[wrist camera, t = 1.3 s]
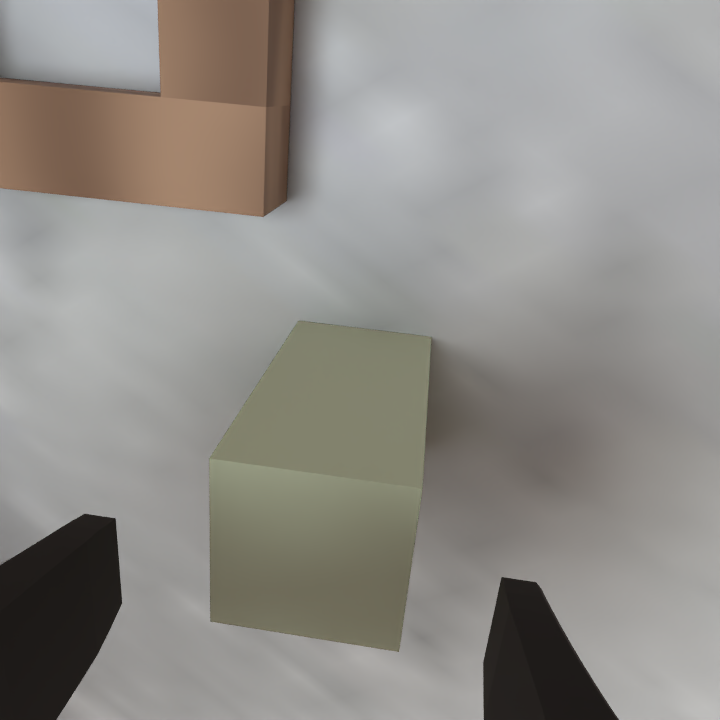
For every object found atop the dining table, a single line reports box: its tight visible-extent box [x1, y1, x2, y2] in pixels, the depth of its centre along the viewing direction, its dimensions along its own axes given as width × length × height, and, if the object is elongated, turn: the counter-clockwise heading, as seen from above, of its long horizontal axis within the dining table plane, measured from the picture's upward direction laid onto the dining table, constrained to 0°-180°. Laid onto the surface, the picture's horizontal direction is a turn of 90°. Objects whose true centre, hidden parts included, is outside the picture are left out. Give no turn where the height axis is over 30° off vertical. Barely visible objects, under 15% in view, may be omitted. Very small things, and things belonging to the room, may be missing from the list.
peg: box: [209, 321, 431, 652], centre depth 16 cm, size 4×4×8 cm
